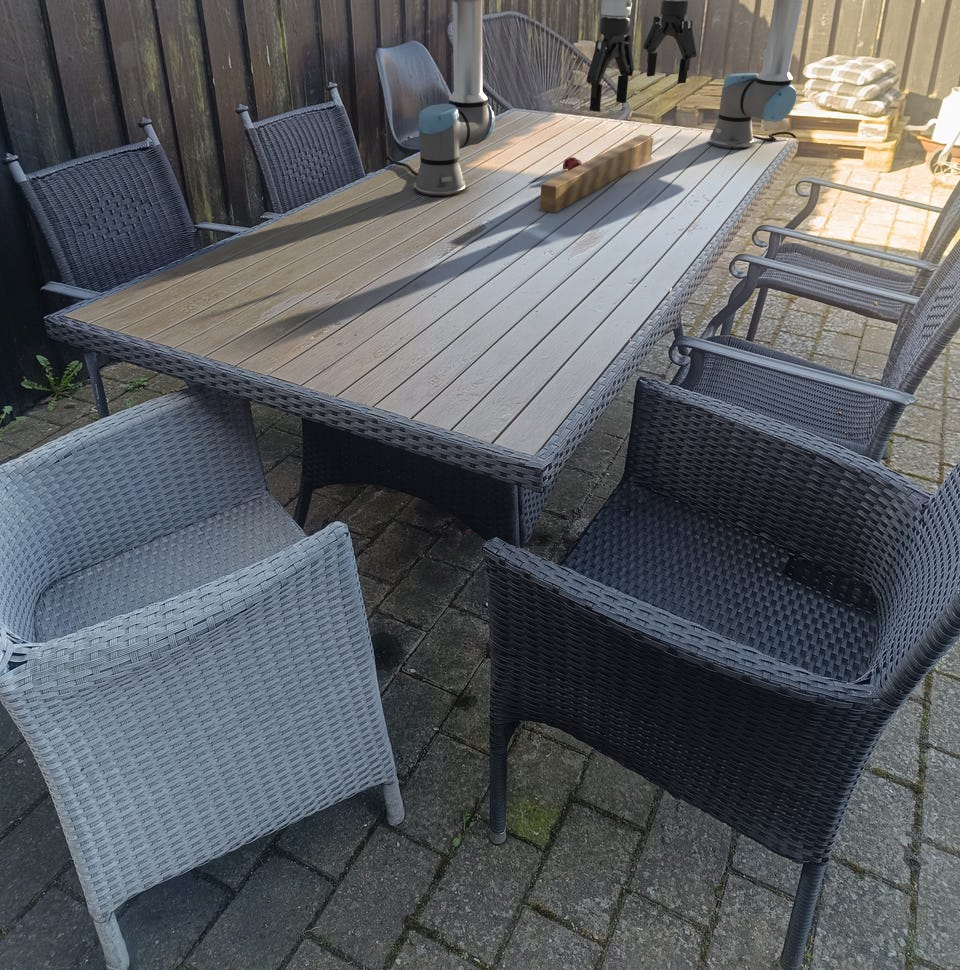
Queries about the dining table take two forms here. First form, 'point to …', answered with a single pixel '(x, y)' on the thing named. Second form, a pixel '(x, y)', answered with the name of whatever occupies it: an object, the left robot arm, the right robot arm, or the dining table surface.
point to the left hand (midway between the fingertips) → (608, 106)
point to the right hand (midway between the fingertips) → (665, 79)
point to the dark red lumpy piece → (571, 163)
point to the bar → (594, 173)
